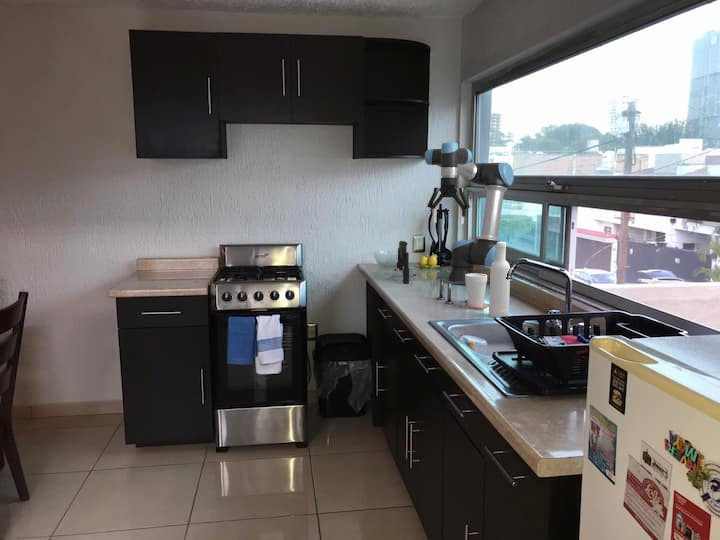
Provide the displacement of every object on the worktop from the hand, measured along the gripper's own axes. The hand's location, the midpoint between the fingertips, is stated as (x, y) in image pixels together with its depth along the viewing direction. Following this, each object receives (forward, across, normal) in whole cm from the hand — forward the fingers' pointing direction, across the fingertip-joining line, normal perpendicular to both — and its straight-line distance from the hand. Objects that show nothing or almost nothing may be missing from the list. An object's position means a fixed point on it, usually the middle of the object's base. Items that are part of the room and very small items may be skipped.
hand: (447, 223), depth 270 cm
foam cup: (+34, +20, -14) cm, 42 cm away
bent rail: (+35, +7, -9) cm, 37 cm away
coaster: (+35, +20, -14) cm, 42 cm away
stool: (+35, -40, +31) cm, 62 cm away
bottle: (+35, +34, -25) cm, 55 cm away
